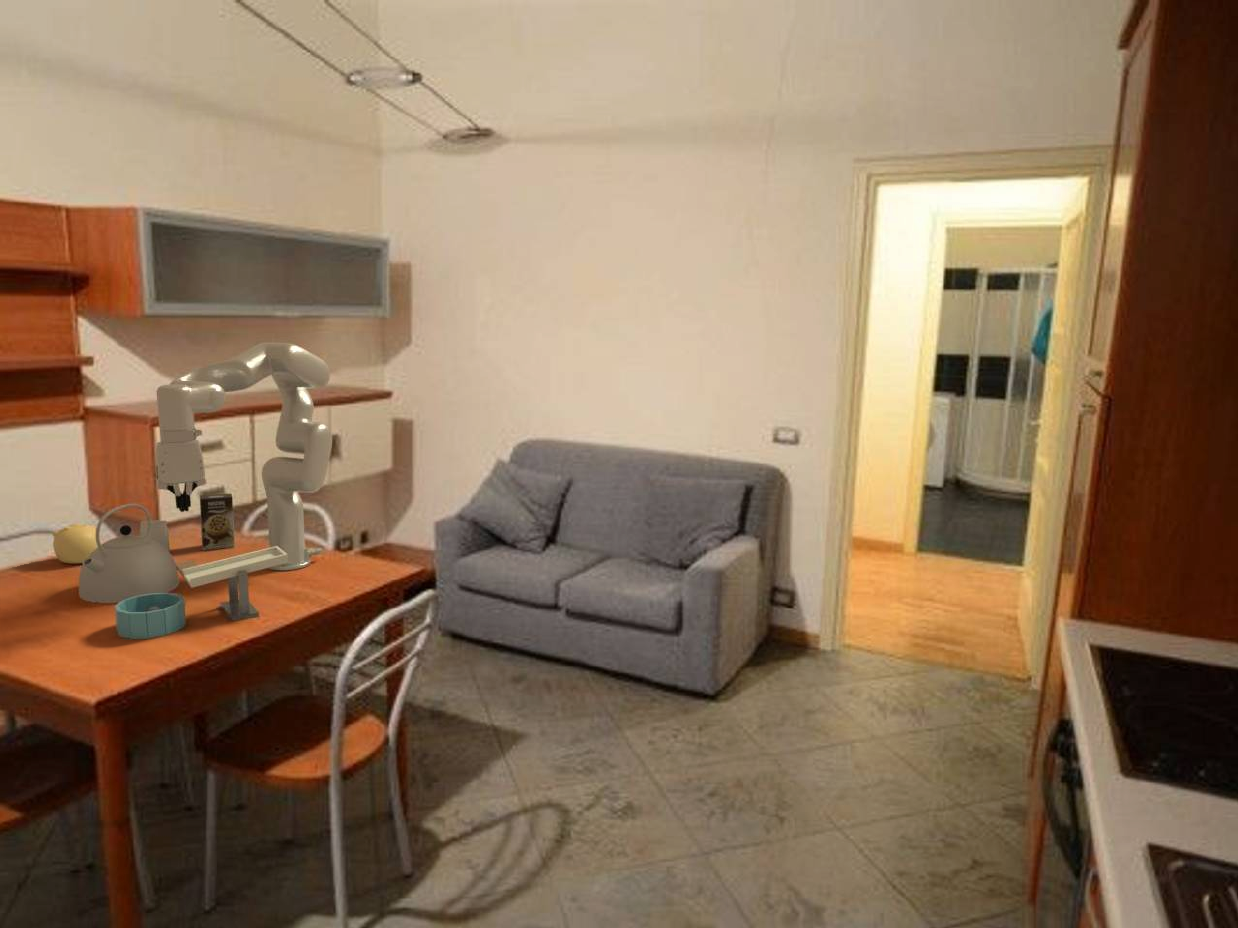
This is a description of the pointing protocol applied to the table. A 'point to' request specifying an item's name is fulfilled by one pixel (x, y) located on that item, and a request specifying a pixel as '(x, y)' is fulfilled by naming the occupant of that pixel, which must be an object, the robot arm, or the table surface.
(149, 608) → the ball
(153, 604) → the teal round bowl
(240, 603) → the lever stand
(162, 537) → the tea bag
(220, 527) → the dark cardboard box
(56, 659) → the table surface
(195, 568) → the lever
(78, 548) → the yellow rounded piece
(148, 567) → the kettle
